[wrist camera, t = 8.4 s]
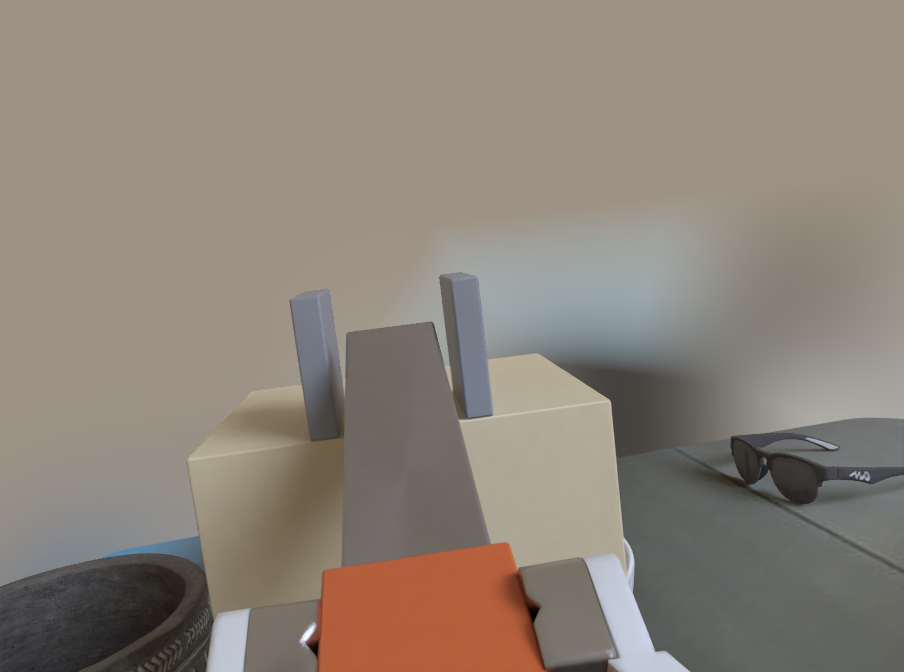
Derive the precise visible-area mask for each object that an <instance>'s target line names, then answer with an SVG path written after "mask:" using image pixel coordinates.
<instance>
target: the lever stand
mask: <svg viewBox="0 0 904 672" xmlns="http://www.w3.org/2000/svg"><path fill="white" fill-rule="evenodd" d="M439 279H440V287H441V295H442V304H443V312H444V320H445V328H446V336H447V345H448V352H449V361H450V365H446V366H445V369H446V373H447V377H448V381H449V385H450V388H451V392H452V396H453V400H454V404H455V408H456V412H457V415H458V419H459V423H460V427H461V431H462V435H463V438H464V442H465V446H466V450H467V454H468V458H469V461H470V465H471V469H472V473H473V477H474V481H475V484H476V488H477V492H478V496H479V500H480V504H481V508H482V511H483V515H484V519H485V523H486V527H487V531H488V534H489V538H490V542H491V544H496V543H502V542H508V543H509V545H510V547H511V550H512V553H513V557H514V560H515V563H516V567H517V570H518V567H524V566H530V565H536V564H542V563H547V562H553V561H559V560H565V559H571V558H577V557H580V558H583V557H589V556H595V555H600V554H606V553H614V554H615V555H616V556H617V557H618V558H619V560H620V563H621V565H622V568H623V570H624V573H625V575H626V578H627V570H626V559H625V549H624V538H623V527H622V517H621V506H620V496H619V485H618V475H617V464H616V454H615V444H614V432H613V422H612V411H611V402H610V400H609V399H607V398H605V397H604V396H602V395H601V394H599V393H598V392H596V391H595V390H593V389H592V388H590V387H589V386H587V385H586V384H584V383H582V382H581V381H579V380H578V379H576V378H575V377H573V376H572V375H570V374H569V373H567V372H566V371H564V370H562V369H561V368H559V367H558V366H556V365H555V364H553V363H552V362H550V361H548V360H547V359H545V358H544V357H542V356H541V355H539V354H537V353H535V354H529V355H520V356H514V357H505V358H498V359H491V360H488V359H487V351H486V342H485V334H484V325H483V316H482V307H481V299H480V291H479V281H478V277H477V276H473V275H469V274H465V273H452V274H444V275H440V277H439ZM290 307H291V314H292V321H293V328H294V335H295V341H296V348H297V355H298V362H299V369H300V375H301V382H302V385H296V386H288V387H281V388H274V389H266V390H258V391H253V392H251V393H250V394H249V396H248V397H247V398H245V399H244V400H243V402H242V403H241V404H240V405H239V406H238V407H237V408H236V409H235V410H234V411H233V412H232V413H231V414H230V415H229V416H228V417H227V418H226V419H225V420H224V421H223V422H222V423H221V424H220V425H219V427H217V429H216V430H215V431H214V432H213V433H212V434H211V435H210V436H209V437H208V438H207V439H206V440H205V441H204V442H203V443H202V444H201V445H200V446H199V447H198V448H197V449H196V450H195V451H194V452H193V454H191V456H190V457H189V458H188V459H187V467H188V473H189V479H190V485H191V490H192V497H193V503H194V509H195V514H196V520H197V526H198V531H199V538H200V544H201V550H202V556H203V562H204V567H205V573H206V579H207V585H208V591H209V597H210V603H211V609H212V615H213V620H214V621H215V618H216V616H217V613H222V612H228V611H235V610H241V609H247V608H258V607H265V606H272V605H279V604H285V603H292V602H299V601H306V600H313V599H320V598H321V583H322V573H323V571H324V570H326V569H333V568H339V567H341V563H342V516H343V469H344V423H345V379H342V374H341V367H340V360H339V354H338V346H337V339H336V332H335V325H334V317H333V310H332V304H331V297H330V290H329V289H322V290H314V291H307V292H304V293H302V294H300V295H298V296H296V297H294V298H292V299H290Z"/></svg>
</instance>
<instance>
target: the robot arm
mask: <svg viewBox="0 0 904 672" xmlns="http://www.w3.org/2000/svg"><path fill="white" fill-rule="evenodd" d="M517 575H518V578H519V582H520V585H521V589H522V592H523V596H524V599H525V603H526V606H527V607H528V609H529V611H530V614H531V617H532V621H533V624H534V634H535V637H536V640H537V644H538V647H539V650H540V654H541V657H542V661H543V664H544V667H545V671H547V672H690V671H688V670H687V669H686V668H685V667H684V666H683V665H681V664H680V663H679V662H678V661H677V660H676V659H674V658H673V657H672V656H671V655H670V654H668V653H667V652H666V651H658V652H655V650H654V647H653V644H652V642H651V639H650V637H649V634H648V632H647V629H646V627H645V624H644V621H643V619H642V616H641V614H640V611H639V609H638V606H637V604H636V601H635V598H634V596H633V593H632V591H631V588H630V586H629V583H628V580H627V578H626V575H625V573H624V570H623V568H622V565H621V563H620V560H619V558H618V557H617V556H616V555H615V554H614V553H606V554H600V555H595V556H589V557H583V558H580V557H577V558H571V559H565V560H559V561H553V562H547V563H542V564H536V565H530V566H524V567H518V570H517ZM321 624H322V601H321V598H320V599H313V600H306V601H299V602H292V603H285V604H279V605H272V606H265V607H258V608H247V609H241V610H235V611H228V612H222V613H217V616H216V618H215V621H214V623H213V626H212V632H211V639H210V646H209V653H208V660H207V667H206V672H319V663H318V660H317V655H318V643H319V640H320V638H321Z"/></svg>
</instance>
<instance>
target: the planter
mask: <svg viewBox="0 0 904 672" xmlns="http://www.w3.org/2000/svg"><path fill="white" fill-rule="evenodd" d="M213 623H214V620H213V615H212V609H211V603H210V597H209V591H208V585H207V579H206V574H205V572H204V571H203V570H202V569H201V568H200V567H199V566H198V565H197V564H195V563H193V562H192V561H189V560H187V559H184V558H181V557H177V556H173V555H167V554H153V553H147V554H130V555H122V556H114V557H108V558H102V559H97V560H92V561H87V562H83V563H78V564H74V565H70V566H66V567H62V568H58V569H54V570H51V571H47V572H43V573H40V574H36V575H33V576H30V577H27V578H24V579H21V580H18V581H15V582H12V583H9V584H6V585H4V586H1V587H0V672H206V667H207V660H208V653H209V646H210V639H211V632H212V626H213Z"/></svg>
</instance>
